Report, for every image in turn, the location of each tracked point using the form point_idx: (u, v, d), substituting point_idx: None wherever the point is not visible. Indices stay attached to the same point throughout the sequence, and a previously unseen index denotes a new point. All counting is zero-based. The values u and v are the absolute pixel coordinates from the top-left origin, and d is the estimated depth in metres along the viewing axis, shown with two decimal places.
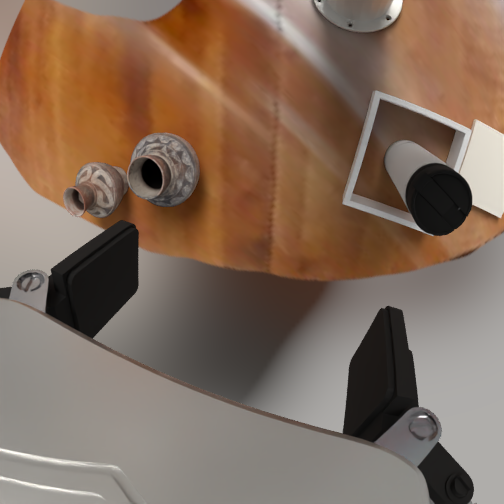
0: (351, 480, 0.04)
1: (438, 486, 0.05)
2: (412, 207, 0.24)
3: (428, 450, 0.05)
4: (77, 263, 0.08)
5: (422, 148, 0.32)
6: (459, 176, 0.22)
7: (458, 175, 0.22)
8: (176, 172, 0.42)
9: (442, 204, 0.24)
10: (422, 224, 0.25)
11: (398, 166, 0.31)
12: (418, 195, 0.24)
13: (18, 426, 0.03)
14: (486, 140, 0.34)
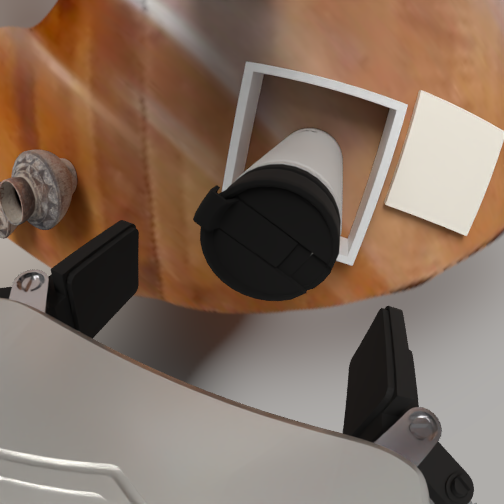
0: (351, 480, 0.04)
1: (438, 486, 0.05)
2: (205, 255, 0.15)
3: (428, 450, 0.05)
4: (77, 263, 0.08)
5: (310, 138, 0.23)
6: (295, 190, 0.12)
7: (292, 188, 0.12)
8: (39, 194, 0.32)
9: (272, 246, 0.14)
10: (238, 281, 0.16)
11: None
12: (217, 232, 0.15)
13: (18, 426, 0.03)
14: (439, 121, 0.24)
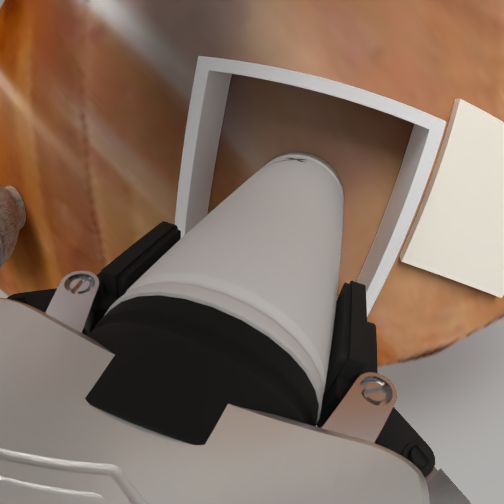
0: (351, 480, 0.04)
1: None
2: None
3: (387, 413, 0.06)
4: (129, 263, 0.09)
5: (289, 179, 0.14)
6: None
7: (163, 434, 0.04)
8: None
9: None
10: None
11: None
12: None
13: (18, 426, 0.03)
14: (483, 145, 0.16)
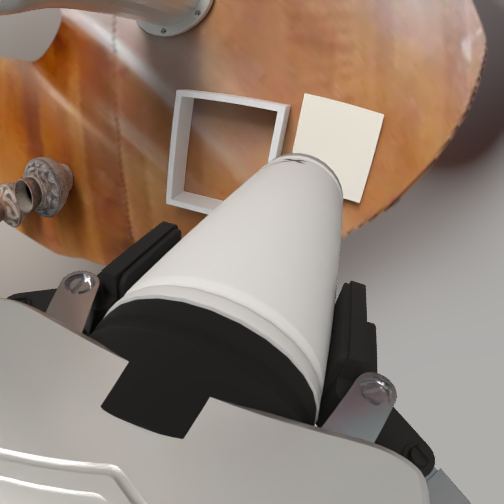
0: (351, 480, 0.04)
1: None
2: None
3: (387, 413, 0.06)
4: (129, 263, 0.09)
5: (288, 180, 0.14)
6: None
7: None
8: (45, 189, 0.45)
9: None
10: None
11: None
12: None
13: (18, 426, 0.03)
14: (321, 114, 0.36)
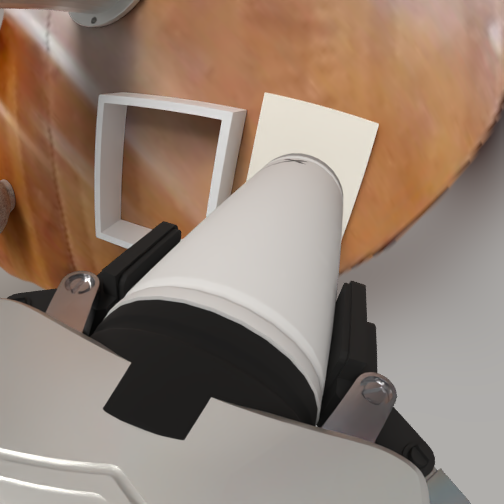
0: (351, 480, 0.04)
1: None
2: None
3: (387, 413, 0.06)
4: (129, 263, 0.09)
5: (288, 181, 0.14)
6: None
7: None
8: None
9: None
10: None
11: None
12: None
13: (18, 426, 0.03)
14: (288, 122, 0.26)
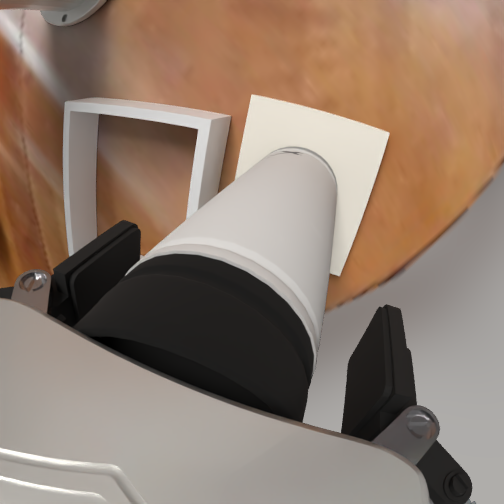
0: (351, 480, 0.04)
1: (436, 484, 0.05)
2: None
3: (426, 448, 0.05)
4: (80, 262, 0.08)
5: (285, 168, 0.15)
6: (190, 357, 0.05)
7: (183, 353, 0.05)
8: None
9: None
10: None
11: None
12: None
13: (18, 426, 0.03)
14: (279, 130, 0.22)
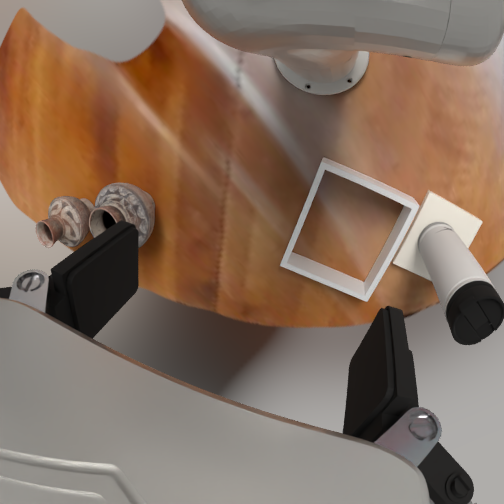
0: (351, 480, 0.04)
1: (438, 486, 0.05)
2: (454, 325, 0.25)
3: (428, 450, 0.05)
4: (77, 262, 0.08)
5: (461, 243, 0.33)
6: (499, 301, 0.22)
7: (499, 300, 0.22)
8: None
9: (478, 321, 0.24)
10: (457, 336, 0.26)
11: (440, 265, 0.31)
12: (461, 314, 0.24)
13: (18, 426, 0.03)
14: (438, 212, 0.39)
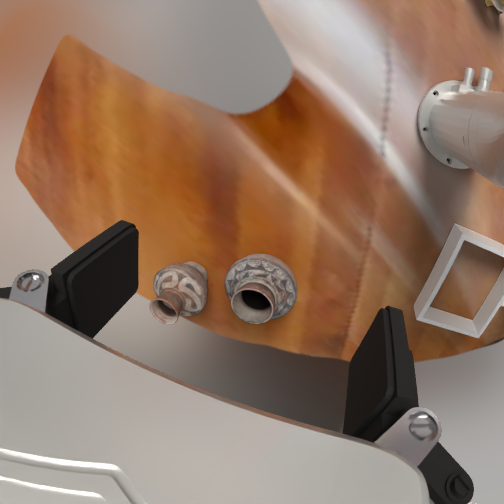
0: (351, 480, 0.04)
1: (438, 486, 0.05)
2: None
3: (428, 450, 0.05)
4: (77, 262, 0.08)
5: None
6: None
7: None
8: (279, 299, 0.46)
9: None
10: None
11: None
12: None
13: (18, 426, 0.03)
14: None
